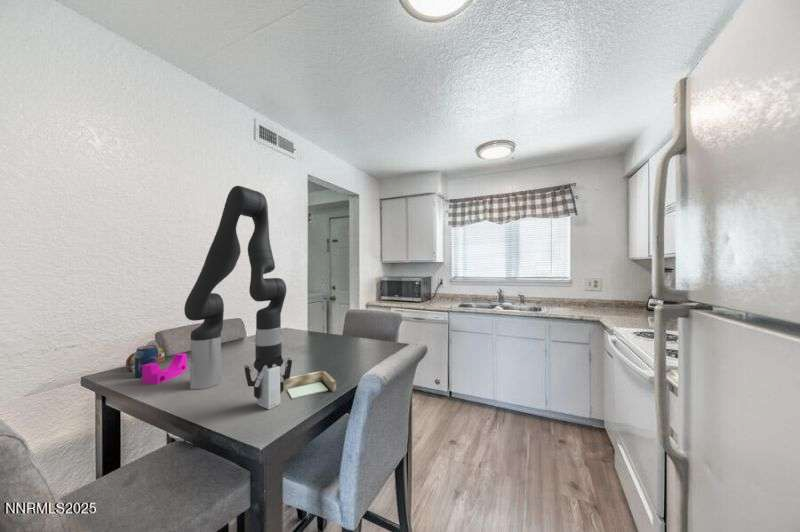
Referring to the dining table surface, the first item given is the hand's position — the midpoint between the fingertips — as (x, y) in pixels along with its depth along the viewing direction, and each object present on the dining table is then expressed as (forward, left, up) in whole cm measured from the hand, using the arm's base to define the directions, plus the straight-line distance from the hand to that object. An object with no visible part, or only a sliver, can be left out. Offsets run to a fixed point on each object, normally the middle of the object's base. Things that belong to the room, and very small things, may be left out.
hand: (268, 395), depth 91 cm
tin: (-39, +64, -3) cm, 75 cm away
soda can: (-37, +51, -3) cm, 63 cm away
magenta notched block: (-30, +46, -3) cm, 54 cm away
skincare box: (0, 0, -3) cm, 3 cm away
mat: (+13, +4, -3) cm, 14 cm away
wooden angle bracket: (+13, +4, -3) cm, 14 cm away
